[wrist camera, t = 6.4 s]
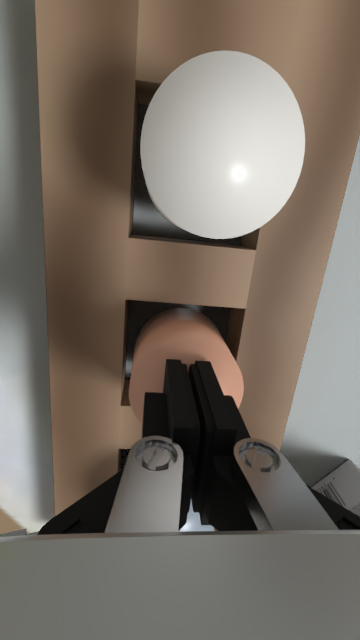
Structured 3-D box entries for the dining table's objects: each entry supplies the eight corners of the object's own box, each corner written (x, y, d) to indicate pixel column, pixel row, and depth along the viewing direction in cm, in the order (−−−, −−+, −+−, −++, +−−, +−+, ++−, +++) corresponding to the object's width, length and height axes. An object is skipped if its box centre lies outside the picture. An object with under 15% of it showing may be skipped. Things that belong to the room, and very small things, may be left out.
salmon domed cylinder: (227, 311, 15) (253, 343, 11) (215, 389, 16) (234, 441, 12) (137, 304, 14) (131, 335, 11) (132, 385, 16) (125, 438, 12)
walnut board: (349, 44, 13) (392, 5, 11) (240, 524, 22) (251, 562, 19) (56, -10, 12) (32, -67, 9) (68, 525, 20) (56, 565, 18)
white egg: (266, 116, 11) (322, 66, 8) (246, 237, 13) (285, 246, 9) (148, 98, 11) (146, 36, 7) (141, 226, 12) (135, 230, 8)
